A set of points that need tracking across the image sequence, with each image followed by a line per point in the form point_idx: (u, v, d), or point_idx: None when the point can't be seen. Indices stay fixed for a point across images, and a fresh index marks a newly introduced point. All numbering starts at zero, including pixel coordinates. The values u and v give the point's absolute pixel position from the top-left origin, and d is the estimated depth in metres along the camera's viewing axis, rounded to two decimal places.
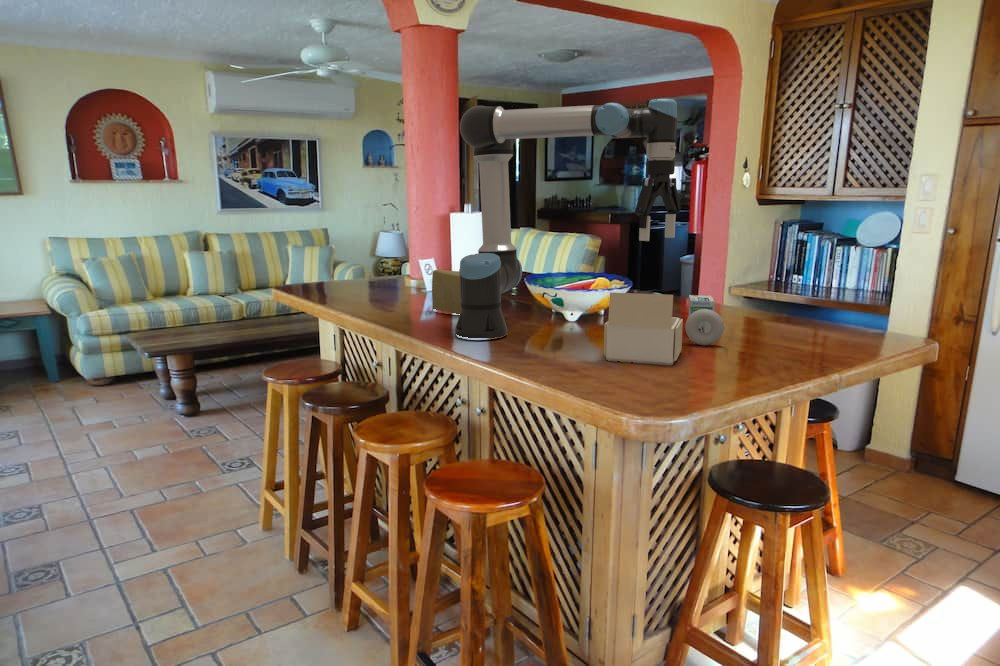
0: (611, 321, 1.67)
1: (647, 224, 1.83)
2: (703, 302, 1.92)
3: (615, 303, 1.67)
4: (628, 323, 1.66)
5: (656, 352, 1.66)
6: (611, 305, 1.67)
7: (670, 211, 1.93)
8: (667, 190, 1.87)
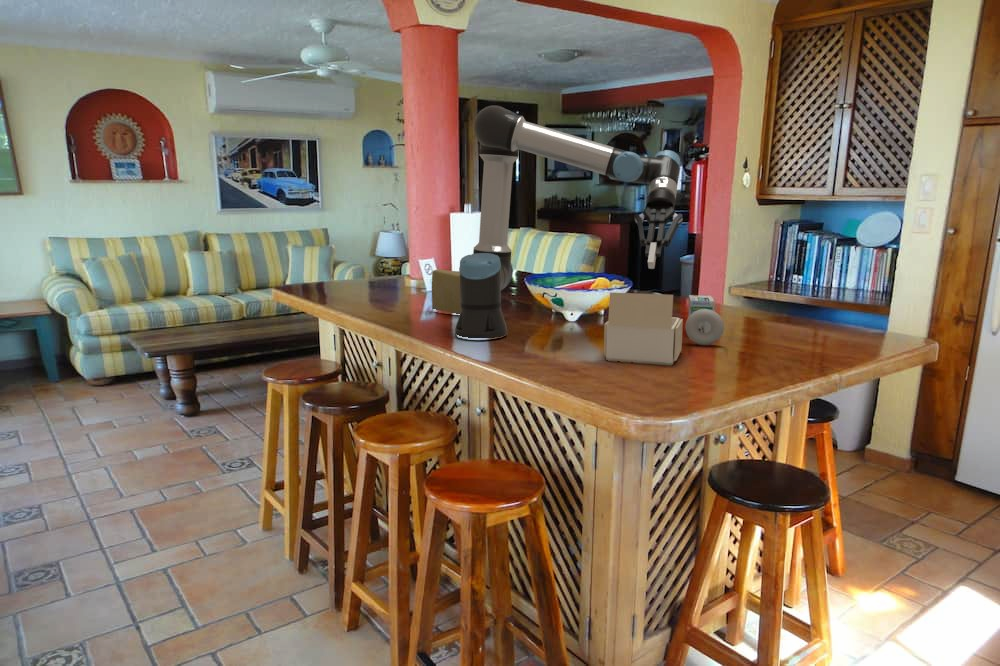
0: (611, 321, 1.67)
1: (649, 249, 1.79)
2: (703, 302, 1.92)
3: (615, 303, 1.67)
4: (628, 323, 1.66)
5: (656, 352, 1.66)
6: (611, 305, 1.67)
7: None
8: None
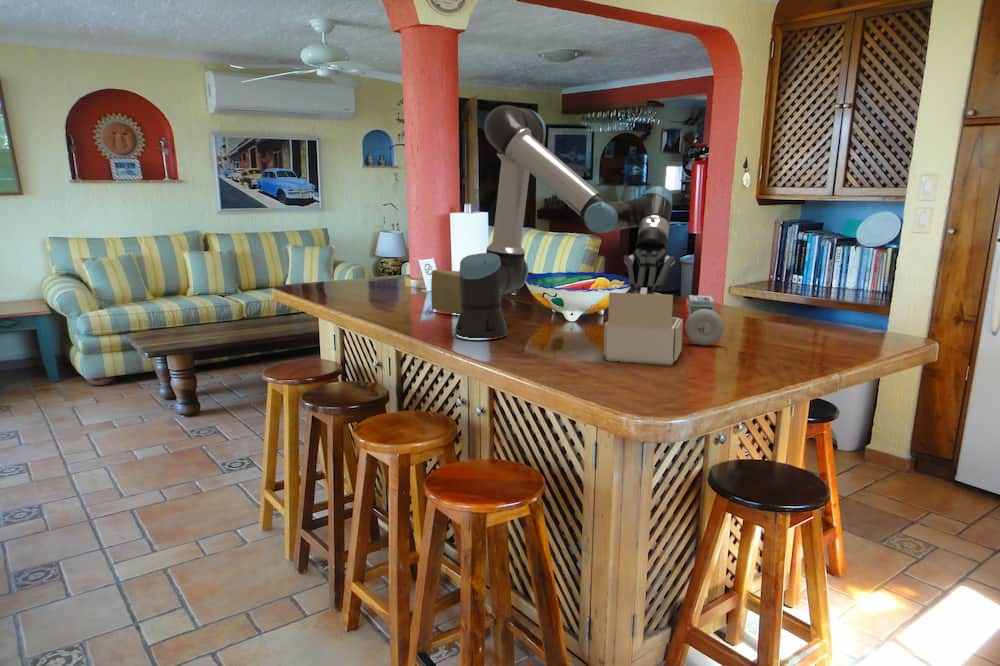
0: (611, 321, 1.67)
1: None
2: (703, 302, 1.92)
3: (615, 303, 1.66)
4: (628, 323, 1.66)
5: (656, 352, 1.66)
6: (611, 305, 1.67)
7: None
8: (651, 259, 1.73)
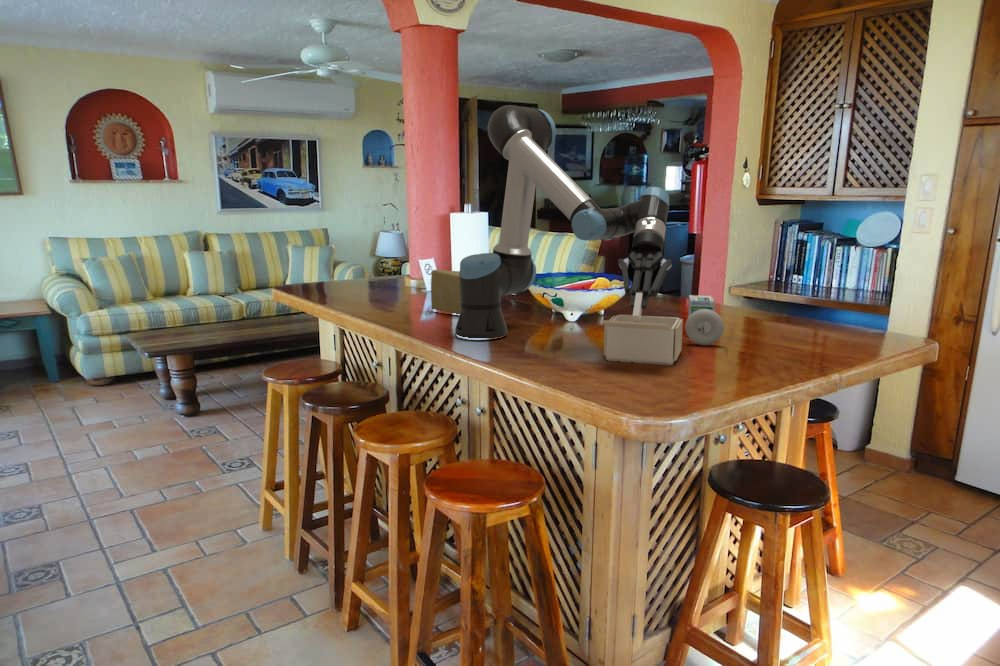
0: (610, 326, 1.67)
1: (635, 300, 1.60)
2: (703, 302, 1.92)
3: (610, 324, 1.62)
4: (627, 327, 1.66)
5: (656, 352, 1.66)
6: (606, 324, 1.63)
7: None
8: None
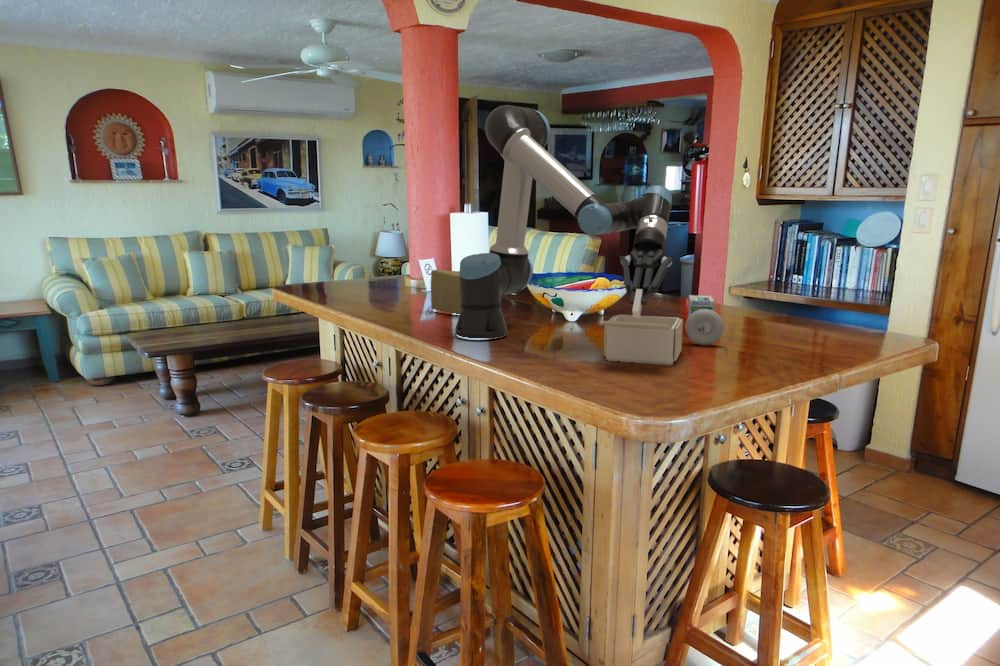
0: (610, 326, 1.67)
1: (635, 296, 1.64)
2: (703, 302, 1.92)
3: (610, 324, 1.62)
4: (627, 327, 1.66)
5: (656, 352, 1.66)
6: (606, 324, 1.63)
7: None
8: None
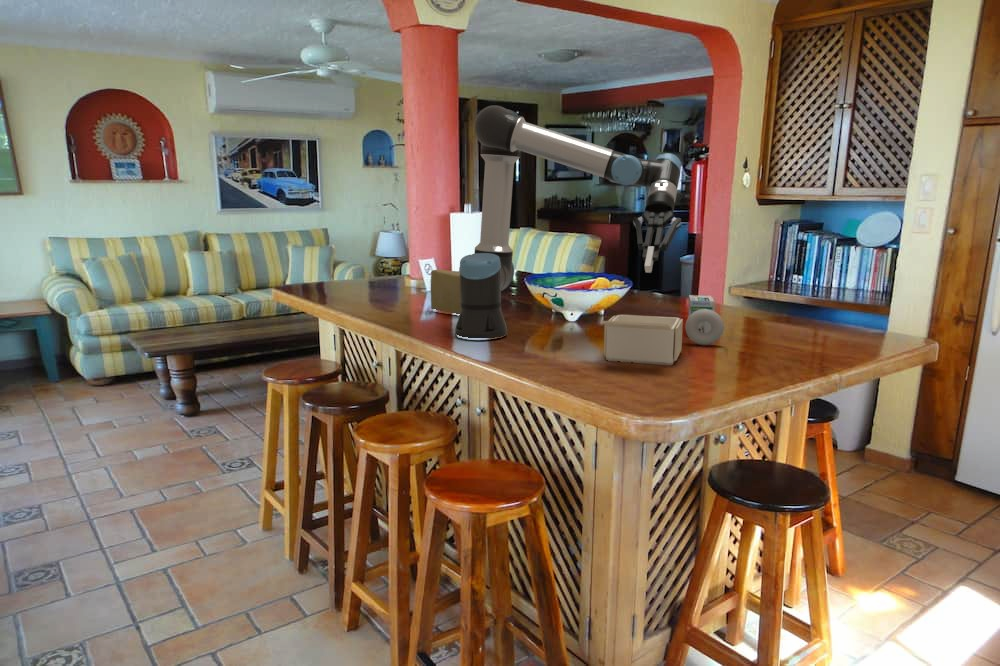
0: (610, 326, 1.67)
1: (647, 253, 1.78)
2: (703, 302, 1.92)
3: (610, 324, 1.62)
4: (627, 327, 1.66)
5: (656, 352, 1.66)
6: (606, 324, 1.63)
7: None
8: None
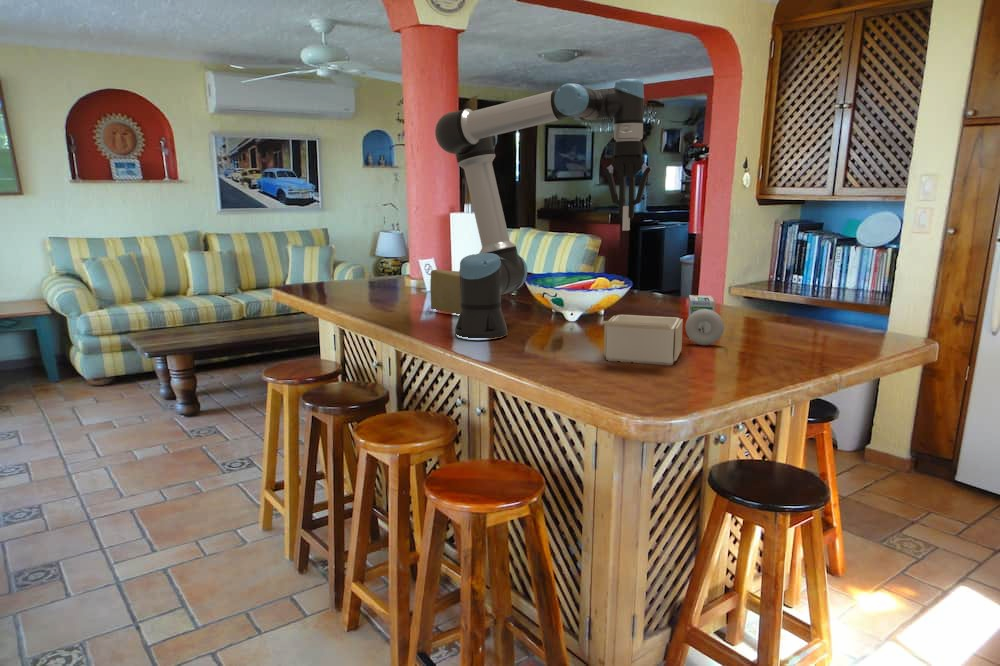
0: (610, 326, 1.67)
1: (623, 214, 1.87)
2: (703, 302, 1.92)
3: (610, 324, 1.62)
4: (627, 327, 1.66)
5: (656, 352, 1.66)
6: (606, 324, 1.63)
7: None
8: (629, 172, 1.84)
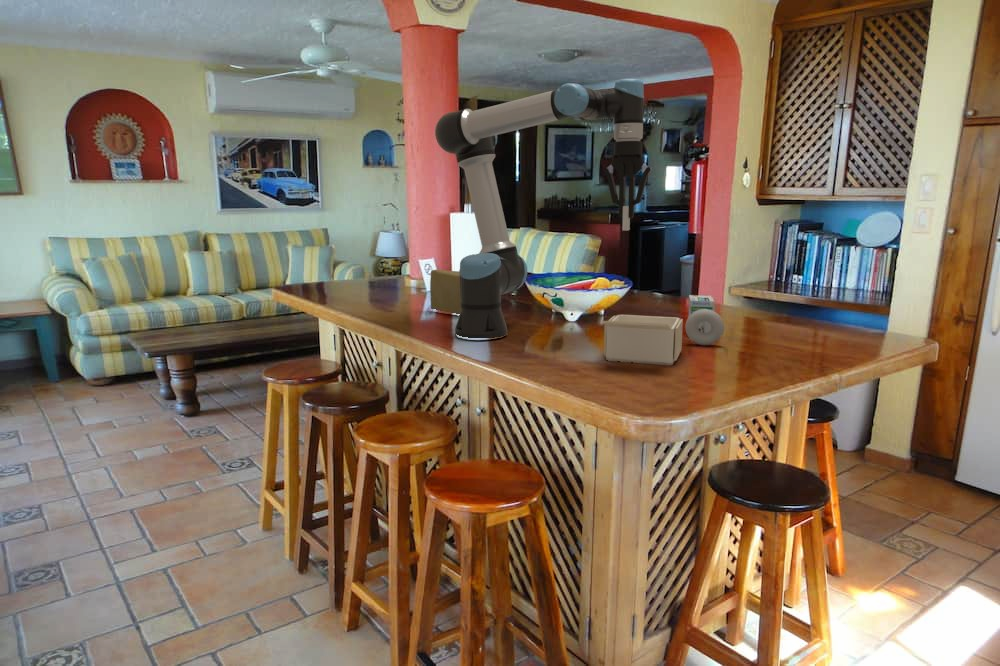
0: (610, 326, 1.67)
1: (623, 214, 1.87)
2: (703, 302, 1.92)
3: (610, 324, 1.62)
4: (627, 327, 1.66)
5: (656, 352, 1.66)
6: (606, 324, 1.63)
7: None
8: (628, 172, 1.83)
